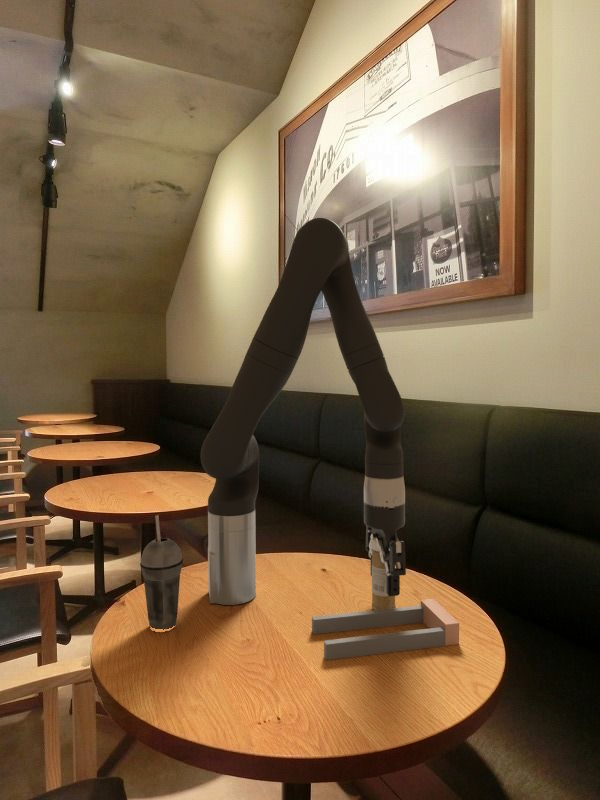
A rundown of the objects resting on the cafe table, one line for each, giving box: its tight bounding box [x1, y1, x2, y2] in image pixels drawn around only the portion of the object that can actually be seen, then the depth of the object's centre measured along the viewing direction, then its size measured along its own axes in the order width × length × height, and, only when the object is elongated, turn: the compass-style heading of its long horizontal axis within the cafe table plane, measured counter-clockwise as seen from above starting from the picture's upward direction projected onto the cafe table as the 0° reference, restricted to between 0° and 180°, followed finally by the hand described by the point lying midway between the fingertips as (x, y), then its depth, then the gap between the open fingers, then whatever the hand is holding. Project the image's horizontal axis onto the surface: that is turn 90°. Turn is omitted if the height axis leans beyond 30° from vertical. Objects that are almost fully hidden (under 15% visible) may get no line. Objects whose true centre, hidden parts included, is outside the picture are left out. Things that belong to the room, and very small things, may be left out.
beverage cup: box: [139, 514, 184, 630], centre depth 93 cm, size 7×7×20 cm
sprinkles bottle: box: [371, 538, 397, 611], centre depth 100 cm, size 5×5×14 cm
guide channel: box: [311, 598, 460, 661], centre depth 89 cm, size 22×9×4 cm, turn 102°
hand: (384, 585), depth 100 cm, fingers open, 8 cm apart
